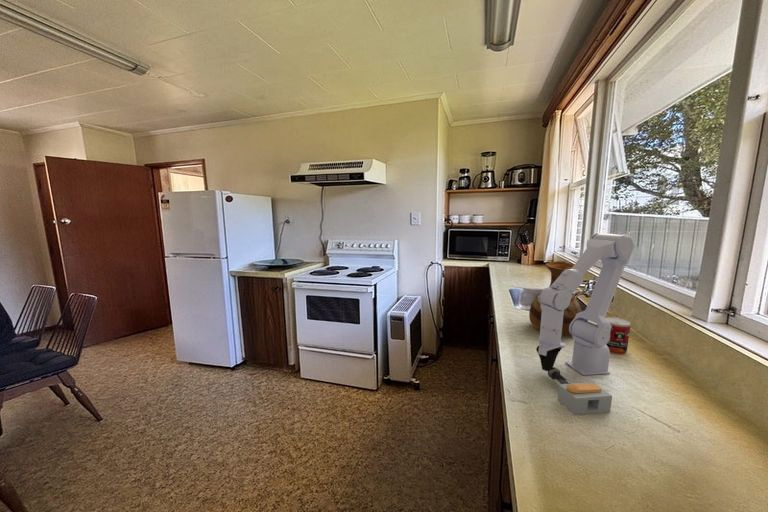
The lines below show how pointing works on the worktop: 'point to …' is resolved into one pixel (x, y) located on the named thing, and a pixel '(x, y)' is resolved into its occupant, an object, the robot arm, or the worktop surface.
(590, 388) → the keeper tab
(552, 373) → the pin
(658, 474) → the worktop surface
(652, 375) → the worktop surface
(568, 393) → the block
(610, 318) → the canned food
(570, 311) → the brown clay vase
